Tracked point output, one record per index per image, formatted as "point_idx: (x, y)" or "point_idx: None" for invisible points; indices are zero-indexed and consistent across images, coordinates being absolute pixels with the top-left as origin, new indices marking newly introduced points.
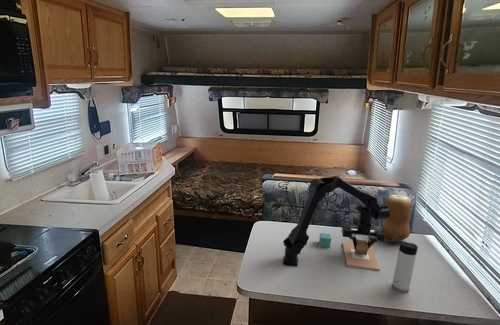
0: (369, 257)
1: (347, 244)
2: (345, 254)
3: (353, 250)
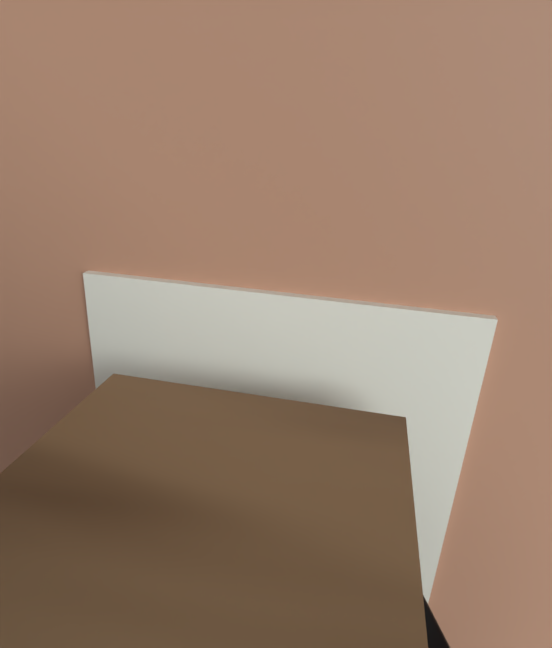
0: (449, 551)
1: (8, 8)
2: (2, 462)
3: (142, 333)
